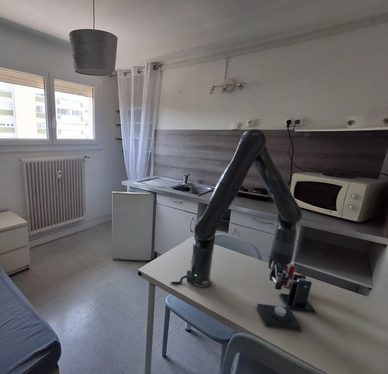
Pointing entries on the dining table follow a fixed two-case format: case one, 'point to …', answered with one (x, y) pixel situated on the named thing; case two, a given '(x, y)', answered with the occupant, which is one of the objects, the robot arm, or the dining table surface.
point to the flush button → (280, 311)
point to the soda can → (290, 270)
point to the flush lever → (289, 280)
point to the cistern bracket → (298, 295)
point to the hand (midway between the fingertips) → (275, 284)
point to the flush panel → (278, 317)
